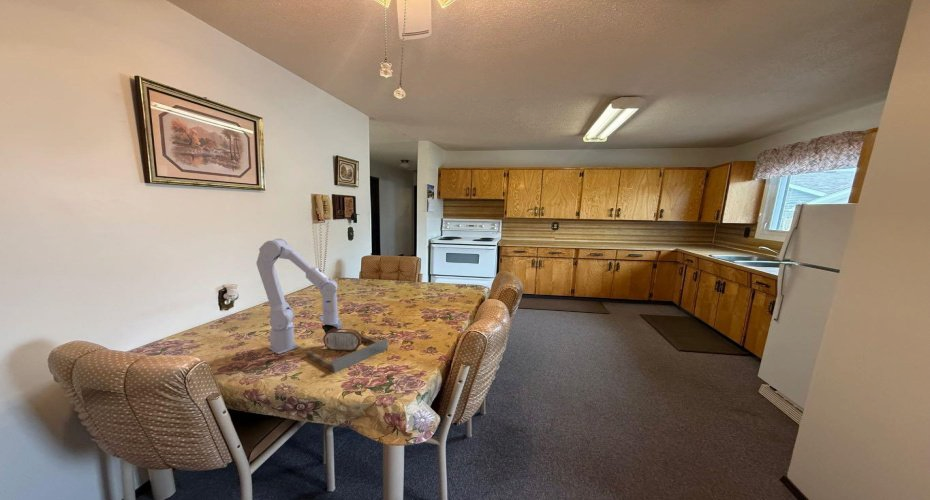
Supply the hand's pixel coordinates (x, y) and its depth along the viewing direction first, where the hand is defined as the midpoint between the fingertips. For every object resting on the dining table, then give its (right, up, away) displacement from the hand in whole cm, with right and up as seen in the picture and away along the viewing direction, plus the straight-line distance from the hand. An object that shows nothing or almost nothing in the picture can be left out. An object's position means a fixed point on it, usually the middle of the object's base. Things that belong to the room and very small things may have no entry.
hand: (331, 341), depth 125 cm
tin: (+7, -2, -4) cm, 8 cm away
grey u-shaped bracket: (+10, -2, -7) cm, 12 cm away
